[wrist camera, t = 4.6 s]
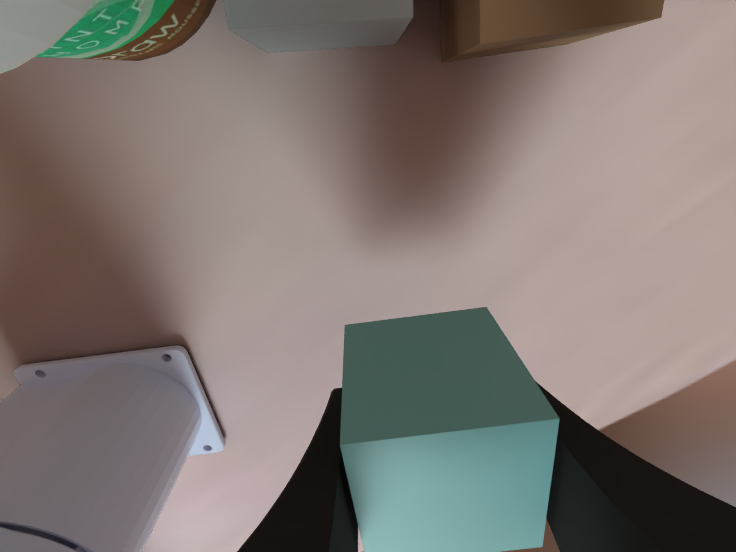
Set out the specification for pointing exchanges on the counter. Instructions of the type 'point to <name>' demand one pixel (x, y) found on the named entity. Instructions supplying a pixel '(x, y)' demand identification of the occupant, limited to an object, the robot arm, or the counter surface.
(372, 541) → the teal block
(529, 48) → the brass block
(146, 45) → the food container
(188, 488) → the counter surface
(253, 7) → the slate-grey block
